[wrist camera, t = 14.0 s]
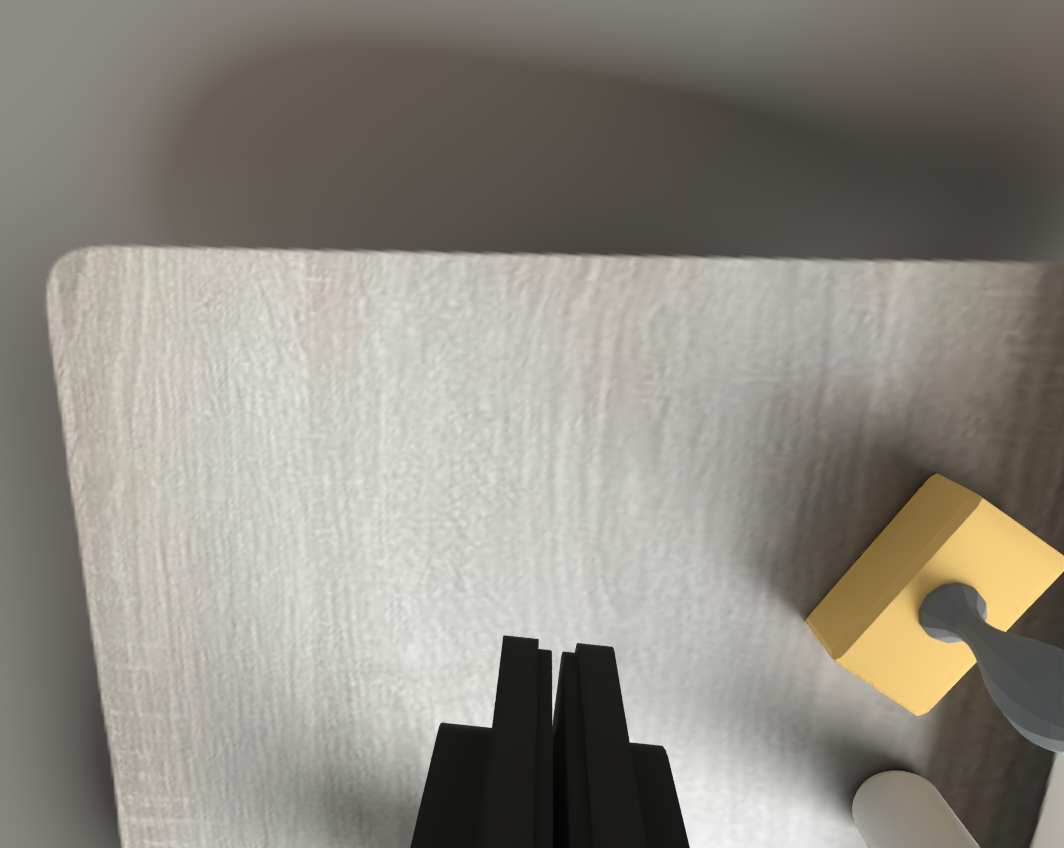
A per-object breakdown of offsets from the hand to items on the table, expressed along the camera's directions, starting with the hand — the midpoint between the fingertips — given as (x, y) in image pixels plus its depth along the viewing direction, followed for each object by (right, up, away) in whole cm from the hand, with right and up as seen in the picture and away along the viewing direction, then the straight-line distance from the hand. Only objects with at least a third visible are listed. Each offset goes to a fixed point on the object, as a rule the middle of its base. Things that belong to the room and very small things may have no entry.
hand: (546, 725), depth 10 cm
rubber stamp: (+19, -3, +23) cm, 30 cm away
